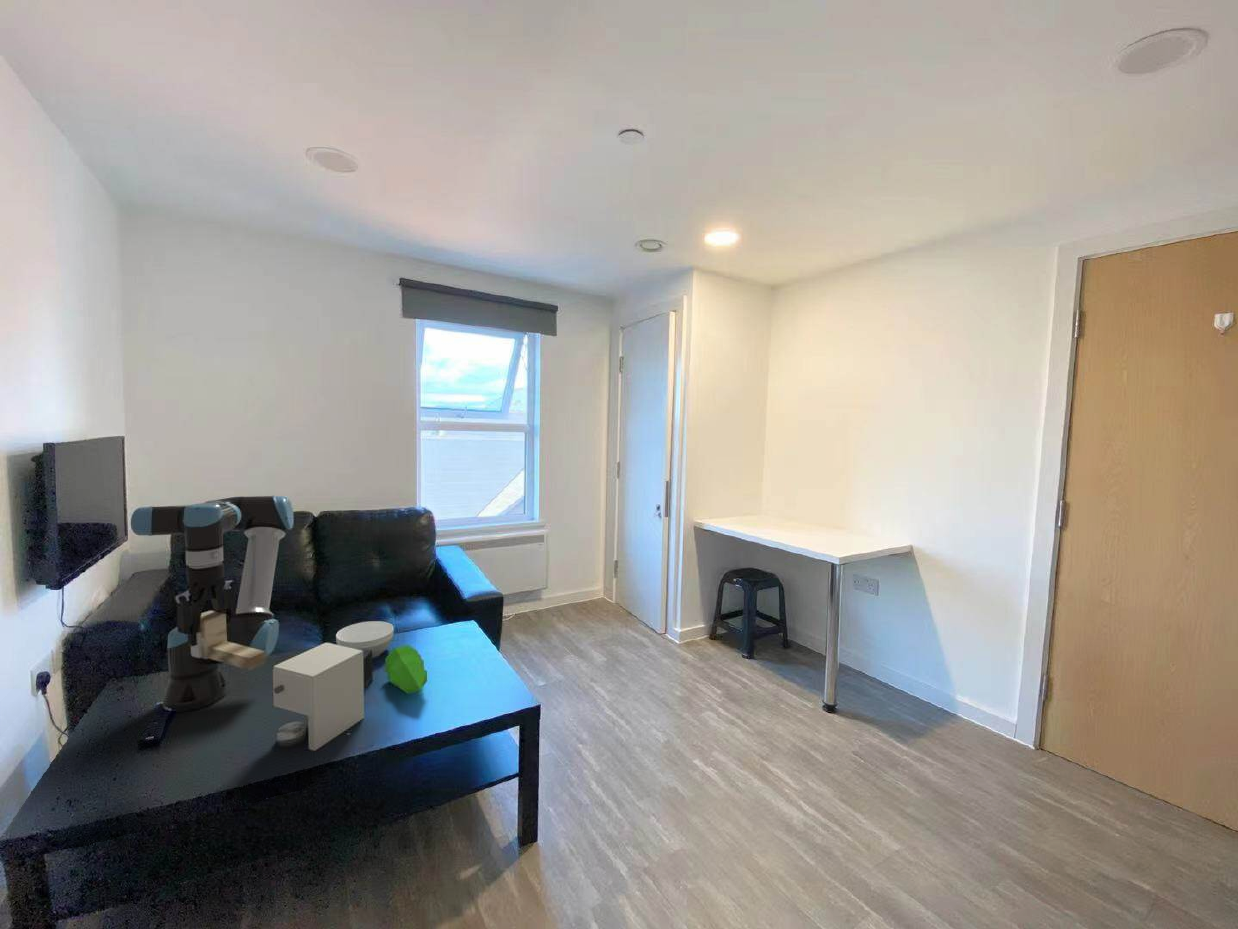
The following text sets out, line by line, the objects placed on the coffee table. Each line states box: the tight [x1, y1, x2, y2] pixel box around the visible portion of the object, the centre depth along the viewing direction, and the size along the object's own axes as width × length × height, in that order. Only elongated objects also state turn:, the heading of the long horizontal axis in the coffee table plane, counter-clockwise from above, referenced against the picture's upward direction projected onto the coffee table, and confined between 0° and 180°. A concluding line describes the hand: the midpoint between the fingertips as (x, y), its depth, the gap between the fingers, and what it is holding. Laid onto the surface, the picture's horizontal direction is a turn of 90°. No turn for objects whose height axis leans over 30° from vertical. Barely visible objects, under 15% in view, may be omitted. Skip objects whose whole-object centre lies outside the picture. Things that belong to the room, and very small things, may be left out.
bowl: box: [335, 620, 394, 659], centre depth 187 cm, size 19×19×9 cm
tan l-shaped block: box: [191, 609, 267, 671], centre depth 131 cm, size 21×5×10 cm, turn 70°
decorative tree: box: [384, 644, 428, 695], centre depth 165 cm, size 11×12×30 cm
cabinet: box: [272, 642, 365, 752], centre depth 141 cm, size 14×18×20 cm
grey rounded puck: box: [276, 721, 307, 747], centre depth 138 cm, size 6×6×3 cm
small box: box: [362, 650, 374, 690], centre depth 166 cm, size 11×6×10 cm, turn 92°
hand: (209, 651), depth 134 cm, fingers closed on tan l-shaped block, 5 cm apart
